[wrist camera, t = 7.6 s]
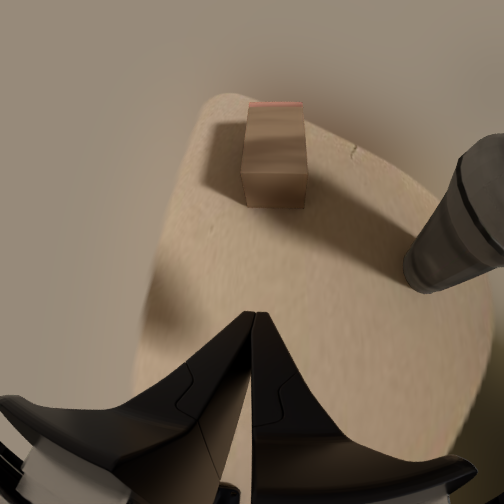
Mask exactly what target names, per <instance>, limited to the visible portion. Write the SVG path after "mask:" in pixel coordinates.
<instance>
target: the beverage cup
mask: <svg viewBox="0 0 504 504" xmlns="http://www.w3.org/2000/svg"><path fill="white" fill-rule="evenodd" d="M497 267H504V133H503V134H492V135H488V136H486V137H484V138H482V139H480V140H479V141H478V142H477V143H476V144H474V145H473V146H472V147H471V148H470V149H469V150H468V151H467V152H465V153H464V154H463V155H462V156H461V157H460V158H459V159H458V163H457V166H456V169H455V171H454V174H453V176H452V179H451V181H450V184H449V187H448V190H447V192H446V194H445V195H444V197H443V199H442V200H441V202H440V203H439V205H438V206H437V208H436V210H435V211H434V213H433V214H432V216H431V217H430V219H429V220H428V222H427V223H426V225H425V226H424V228H423V229H422V231H421V232H420V234H419V235H418V236H417V238H416V239H415V241H414V242H413V243H412V246H411V248H410V249H409V251H408V252H407V253H406V255H405V257H404V262H403V270H404V275H405V277H406V280H407V282H408V283H409V284H410V286H411V287H412V288H413V289H415V290H416V291H417V292H420V293H423V294H431V293H433V292H436V291H442V290H444V289H447V288H449V287H452V286H455V285H457V284H460V283H462V282H465V281H467V280H470V279H472V278H475V277H477V276H479V275H482V274H484V273H486V272H489V271H491V270H493V269H495V268H497Z"/></svg>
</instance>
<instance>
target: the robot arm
mask: <svg viewBox="0 0 504 504" xmlns="http://www.w3.org/2000/svg"><path fill="white" fill-rule="evenodd" d="M250 377H251V403H252V482H251V504H450V499H449V494H451V493H453V492H454V491H456V490H457V489H458V488H460V487H462V486H463V485H465V484H466V483H467V482H469V481H470V480H471V479H473V478H474V477H475V476H476V475H477V473H478V470H477V469H476V468H475V466H474V465H472V463H470V462H469V461H467V460H465V459H463V458H461V457H458V456H456V455H446V456H442V457H439V458H436V459H432V460H428V461H423V462H411V461H404V460H400V459H397V458H394V457H392V456H389V455H386V454H383V453H381V452H378V451H375V450H373V449H370V448H368V447H365V446H363V445H360V444H358V443H356V442H354V441H352V440H351V439H349V438H348V437H347V436H346V435H345V434H344V433H343V432H342V431H341V430H340V429H339V428H338V426H337V425H336V424H335V423H334V421H333V420H332V419H331V417H330V416H329V415H328V414H327V412H326V411H325V410H324V409H323V407H322V406H321V405H320V403H319V402H318V401H317V399H316V398H315V397H314V395H313V394H312V392H311V391H310V389H309V388H308V386H307V384H306V383H305V381H304V379H303V377H302V375H301V374H300V372H299V370H298V368H297V366H296V364H295V362H294V361H293V359H292V357H291V355H290V353H289V351H288V349H287V347H286V345H285V344H284V342H283V340H282V338H281V336H280V334H279V332H278V330H277V328H276V326H275V324H274V323H273V321H272V319H271V317H270V315H269V313H268V312H256V313H255V312H253V311H243V312H242V313H241V314H240V315H239V316H238V317H236V318H235V319H234V320H233V321H232V322H231V323H230V324H228V325H227V326H226V327H225V328H224V329H223V330H222V331H221V332H219V333H218V334H217V335H216V336H215V337H214V338H212V339H211V340H210V341H209V342H208V343H207V344H205V345H204V346H203V347H202V348H201V349H200V350H198V351H197V352H196V353H195V354H194V355H193V356H191V357H190V358H189V359H188V360H187V361H186V363H185V362H184V363H183V364H182V365H181V366H179V367H178V368H177V369H176V370H174V371H173V372H172V373H170V374H169V375H168V376H167V377H165V378H164V379H162V380H161V381H159V382H158V383H156V384H155V385H153V386H152V387H150V388H149V389H147V390H145V391H144V392H142V393H140V394H139V395H137V396H136V397H134V398H132V399H131V400H129V401H127V402H126V403H124V404H122V405H120V406H118V407H115V408H112V409H106V410H81V409H80V410H79V409H60V408H49V407H43V406H39V405H36V404H33V403H31V402H29V401H28V400H26V399H25V398H23V397H21V396H19V395H5V396H0V411H1V412H2V413H3V415H4V416H5V417H6V418H7V420H8V421H9V422H10V423H11V424H12V425H13V426H14V427H15V428H16V429H17V430H18V431H19V432H20V434H21V435H22V436H23V437H24V438H25V439H26V440H28V442H29V443H30V444H31V445H33V447H32V448H31V450H30V452H29V454H28V455H27V457H26V458H25V460H24V461H22V460H21V459H20V458H19V457H17V456H16V455H15V454H14V453H13V452H12V451H10V450H9V449H8V448H7V447H6V446H5V445H4V444H3V443H1V442H0V504H240V495H241V492H240V490H239V489H238V488H234V487H227V486H220V485H219V483H220V480H221V477H222V473H223V470H224V467H225V464H226V460H227V457H228V454H229V451H230V447H231V444H232V440H233V437H234V434H235V430H236V427H237V423H238V420H239V416H240V413H241V409H242V406H243V402H244V399H245V395H246V392H247V388H248V384H249V381H250ZM231 492H236V493H237V494H232V493H231ZM485 504H504V492H503V493H502V494H500V495H499V496H497V497H495V498H494V499H492V500H490V501H489V502H487V503H485Z"/></svg>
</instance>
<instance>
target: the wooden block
mask: <svg viewBox="0 0 504 504" xmlns="http://www.w3.org/2000/svg"><path fill="white" fill-rule="evenodd" d="M240 174H241V179H242V183H243V188H244V192H245V197H246V202H247V206H248V208H303V209H304V203H305V195H306V186H307V177H308V168H307V152H306V139H305V127H304V116H303V106H302V102H249V109H248V116H247V124H246V132H245V139H244V147H243V155H242V164H241V172H240Z"/></svg>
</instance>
